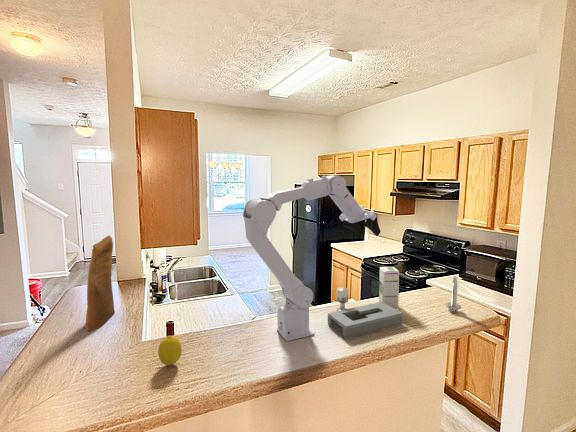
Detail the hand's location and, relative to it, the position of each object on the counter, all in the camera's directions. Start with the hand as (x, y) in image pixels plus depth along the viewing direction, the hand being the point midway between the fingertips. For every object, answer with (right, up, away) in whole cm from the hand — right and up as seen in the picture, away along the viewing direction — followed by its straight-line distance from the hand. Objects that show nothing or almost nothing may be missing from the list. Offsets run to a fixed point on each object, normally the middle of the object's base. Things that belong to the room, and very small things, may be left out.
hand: (369, 233), depth 103 cm
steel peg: (-9, -29, +4) cm, 30 cm away
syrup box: (+10, -28, +10) cm, 31 cm away
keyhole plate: (-3, -29, -4) cm, 30 cm away
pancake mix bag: (-91, -30, 0) cm, 96 cm away
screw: (+31, -28, +5) cm, 42 cm away
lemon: (-58, -32, -26) cm, 71 cm away
